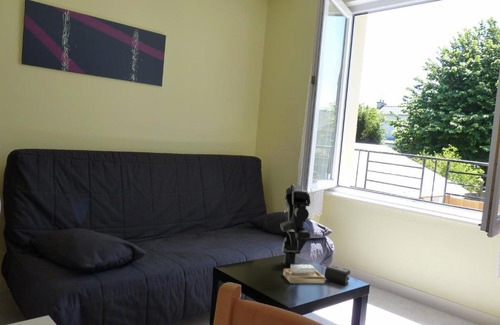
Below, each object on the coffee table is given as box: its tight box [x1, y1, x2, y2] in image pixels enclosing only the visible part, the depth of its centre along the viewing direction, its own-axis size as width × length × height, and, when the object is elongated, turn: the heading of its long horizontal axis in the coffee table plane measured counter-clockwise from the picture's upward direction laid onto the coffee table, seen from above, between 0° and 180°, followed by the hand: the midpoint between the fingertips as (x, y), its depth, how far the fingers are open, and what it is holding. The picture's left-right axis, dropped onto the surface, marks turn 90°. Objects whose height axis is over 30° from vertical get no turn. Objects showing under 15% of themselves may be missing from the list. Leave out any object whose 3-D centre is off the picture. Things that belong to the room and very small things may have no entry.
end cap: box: [324, 265, 351, 286], centre depth 180 cm, size 10×7×7 cm
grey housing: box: [289, 264, 316, 276], centre depth 180 cm, size 10×5×4 cm, turn 105°
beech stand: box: [282, 268, 326, 284], centre depth 180 cm, size 11×16×3 cm
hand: (295, 248), depth 187 cm, fingers open, 9 cm apart
